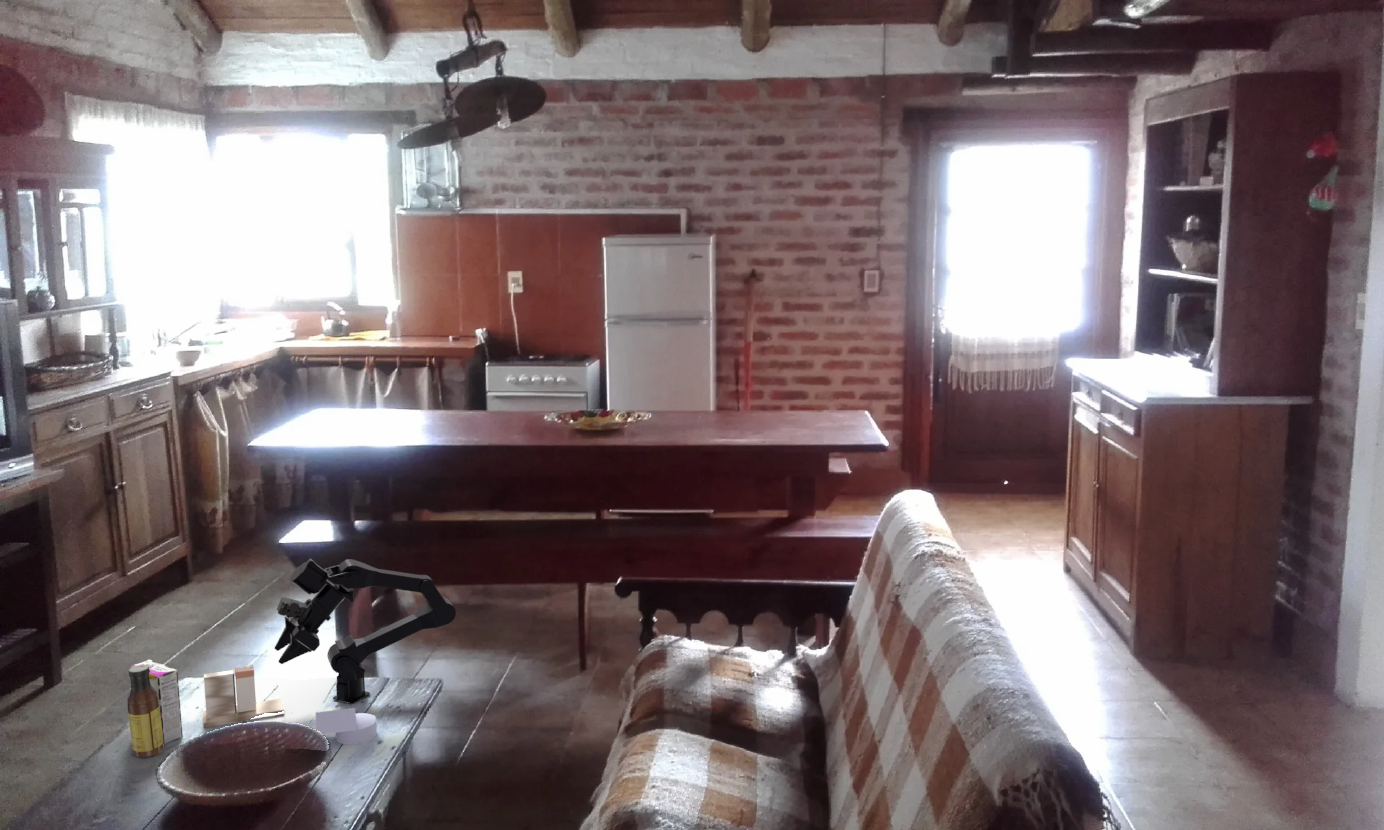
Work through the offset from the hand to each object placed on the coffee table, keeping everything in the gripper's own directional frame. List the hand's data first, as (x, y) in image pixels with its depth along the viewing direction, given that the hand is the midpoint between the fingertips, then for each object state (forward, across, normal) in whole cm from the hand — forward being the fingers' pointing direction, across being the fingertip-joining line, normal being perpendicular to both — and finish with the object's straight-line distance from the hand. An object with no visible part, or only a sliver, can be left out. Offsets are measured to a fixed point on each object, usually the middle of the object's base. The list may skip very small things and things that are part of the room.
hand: (277, 656), depth 262 cm
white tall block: (+14, 0, +3) cm, 14 cm away
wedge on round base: (+1, +22, +18) cm, 28 cm away
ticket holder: (+16, 0, +4) cm, 16 cm away
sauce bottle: (+30, +11, -11) cm, 34 cm away
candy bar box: (+28, +3, -9) cm, 30 cm away
